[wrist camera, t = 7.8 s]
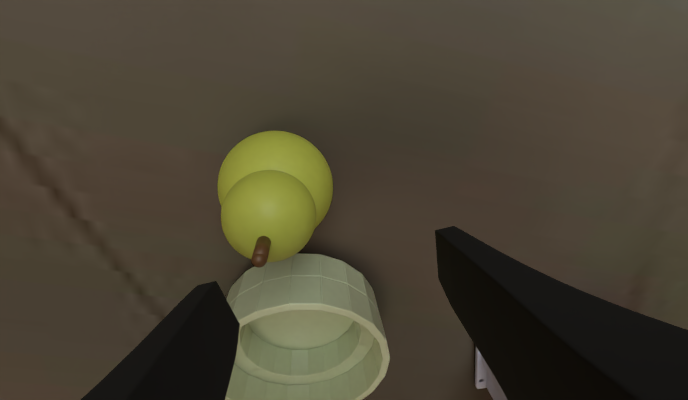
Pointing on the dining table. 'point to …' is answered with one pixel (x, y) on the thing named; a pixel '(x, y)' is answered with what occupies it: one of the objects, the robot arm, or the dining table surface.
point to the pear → (273, 195)
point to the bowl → (306, 332)
